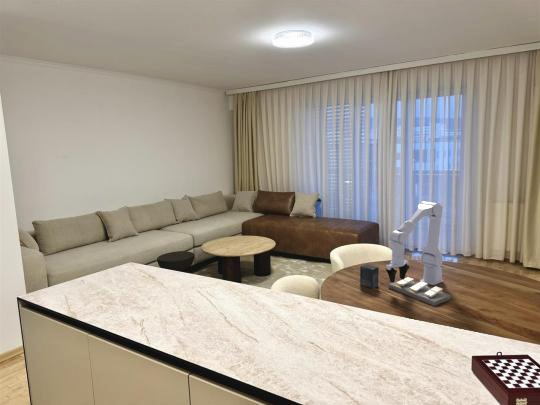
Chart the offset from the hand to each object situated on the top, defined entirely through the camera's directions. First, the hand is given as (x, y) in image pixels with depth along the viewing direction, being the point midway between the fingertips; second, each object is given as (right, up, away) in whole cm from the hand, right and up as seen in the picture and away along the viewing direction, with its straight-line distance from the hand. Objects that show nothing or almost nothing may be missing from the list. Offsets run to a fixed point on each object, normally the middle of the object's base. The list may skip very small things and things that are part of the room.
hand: (397, 280), depth 181 cm
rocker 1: (+5, -1, +4) cm, 7 cm away
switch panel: (+10, -6, -3) cm, 12 cm away
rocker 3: (+14, -3, -10) cm, 17 cm away
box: (-12, -5, +9) cm, 15 cm away
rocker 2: (+10, -2, -3) cm, 10 cm away
